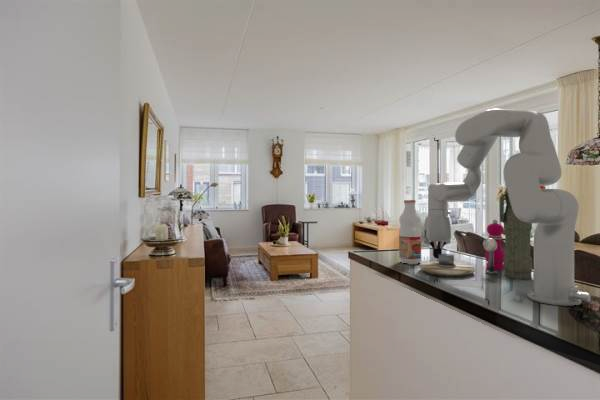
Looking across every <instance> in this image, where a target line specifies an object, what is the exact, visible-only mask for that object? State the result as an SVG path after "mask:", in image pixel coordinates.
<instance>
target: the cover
mask: <svg viewBox="0 0 600 400" xmlns="http://www.w3.org/2000/svg"><path fill="white" fill-rule="evenodd" d="M437 260H438V261H437V262H439V263H437V266H438V267H442V268H455V267H456V265H455V264H454V262H455V254H452V253H442V254H438V259H437Z"/></svg>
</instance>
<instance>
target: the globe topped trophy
mask: <svg viewBox="0 0 600 400" xmlns="http://www.w3.org/2000/svg"><path fill="white" fill-rule="evenodd" d="M482 246H483V249H484V250H485V252H487V251H489V269H487V270H485V274H487V275H498V270H497V271H496V270H494V250H496V248H497V242H496V241H495V240H494V239H492V238H485V239H484V240H483V241H482Z"/></svg>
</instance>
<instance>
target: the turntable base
mask: <svg viewBox="0 0 600 400" xmlns="http://www.w3.org/2000/svg"><path fill="white" fill-rule="evenodd" d="M424 272H425V273H426V274H429V275H433V276H438V277H447V278H460V277H461V278H462V277H467V276H469V275H470V274H465V275H446V274H436V273H430V272H426V271H424Z"/></svg>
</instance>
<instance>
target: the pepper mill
mask: <svg viewBox="0 0 600 400" xmlns="http://www.w3.org/2000/svg"><path fill="white" fill-rule="evenodd" d="M498 222H499V221H498V220H497V219H492V223H489V224H488V225H487V227H486V232H487V233H488V235H487V236H488V238H492V239H494V240H495V241H496V242H497V248H496V250H494V271H496V270H497V271H498V270H499V271H502V270H504V256H505V252H504V250H503V248H502V247H503V246H502V239H503V235H502V234H503V233H504V232H505V230H504V225H502V224H500V223H498ZM484 257H485V260H486V262H487V263H486V269H487V270H489V251H485V256H484Z"/></svg>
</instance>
